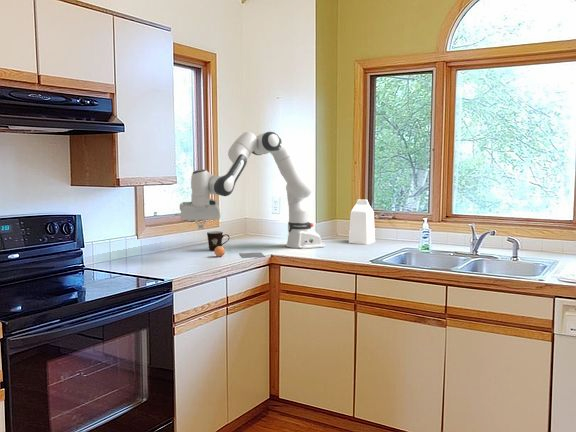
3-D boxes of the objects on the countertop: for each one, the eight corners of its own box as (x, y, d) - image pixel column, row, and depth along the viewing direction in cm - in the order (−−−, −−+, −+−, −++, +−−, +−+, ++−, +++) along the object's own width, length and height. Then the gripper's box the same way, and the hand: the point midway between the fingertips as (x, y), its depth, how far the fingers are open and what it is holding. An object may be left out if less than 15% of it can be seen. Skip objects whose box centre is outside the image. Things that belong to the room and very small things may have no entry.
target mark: (261, 252, 296) (261, 252, 296) (265, 256, 284) (265, 256, 284) (239, 253, 293) (239, 253, 293) (242, 257, 282) (242, 257, 282)
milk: (348, 242, 330) (349, 199, 327) (357, 240, 339) (358, 198, 337) (366, 244, 323) (367, 200, 320) (375, 242, 333) (375, 199, 330)
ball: (224, 255, 288) (224, 245, 288) (225, 257, 283) (225, 246, 282) (213, 255, 287) (213, 245, 286) (214, 257, 282) (214, 247, 281)
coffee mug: (204, 250, 302) (204, 233, 301) (211, 248, 310) (211, 231, 309) (223, 252, 298) (223, 234, 297) (230, 249, 307) (230, 231, 305)
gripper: (179, 202, 274) (180, 229, 276) (220, 201, 279) (221, 228, 280) (179, 201, 280) (179, 228, 282) (219, 200, 285) (219, 227, 286)
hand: (200, 228), depth 281 cm, fingers closed
